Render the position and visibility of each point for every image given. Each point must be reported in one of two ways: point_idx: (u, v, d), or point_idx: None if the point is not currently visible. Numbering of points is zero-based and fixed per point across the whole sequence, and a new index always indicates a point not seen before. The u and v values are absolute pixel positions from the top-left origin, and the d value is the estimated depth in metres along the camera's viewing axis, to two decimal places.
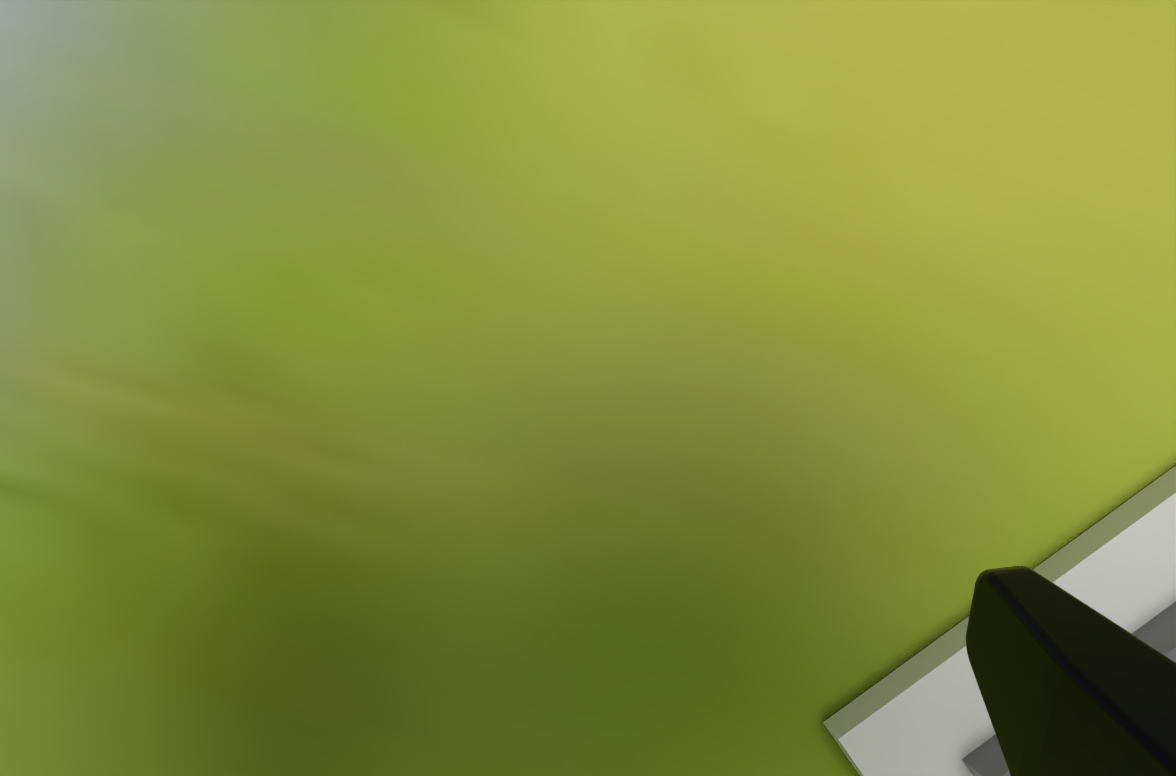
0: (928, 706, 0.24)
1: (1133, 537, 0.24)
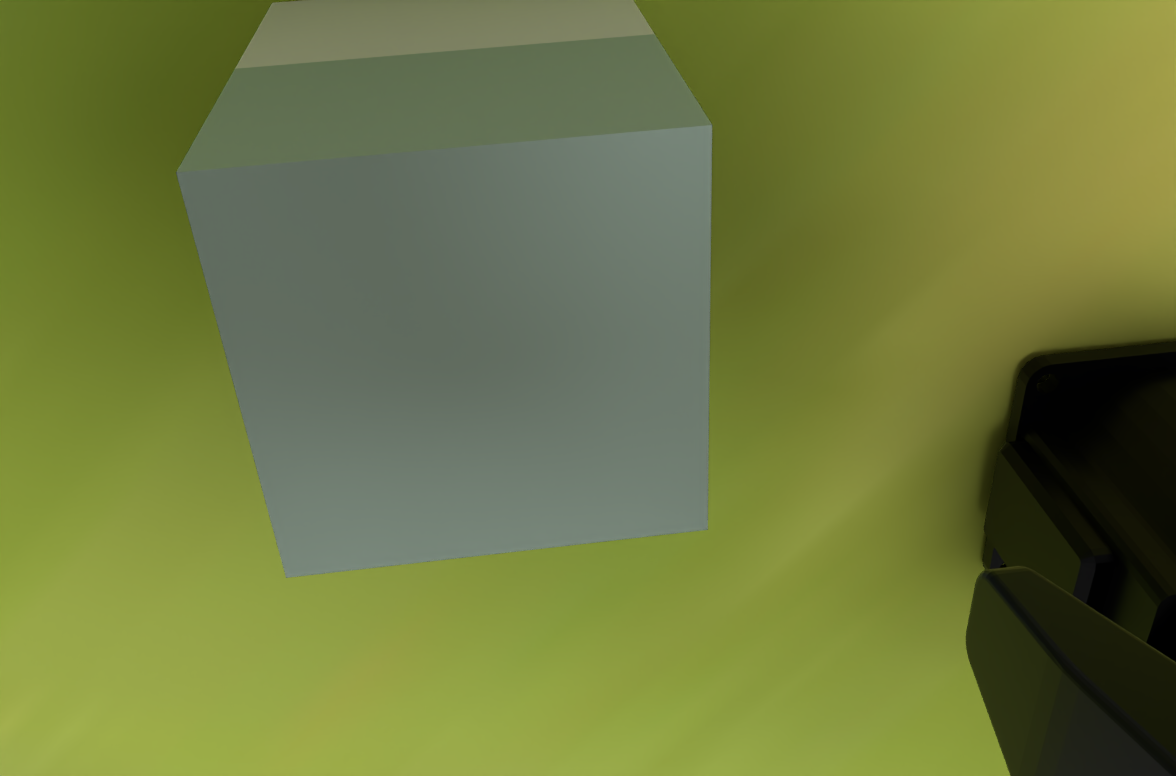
0: None
1: None
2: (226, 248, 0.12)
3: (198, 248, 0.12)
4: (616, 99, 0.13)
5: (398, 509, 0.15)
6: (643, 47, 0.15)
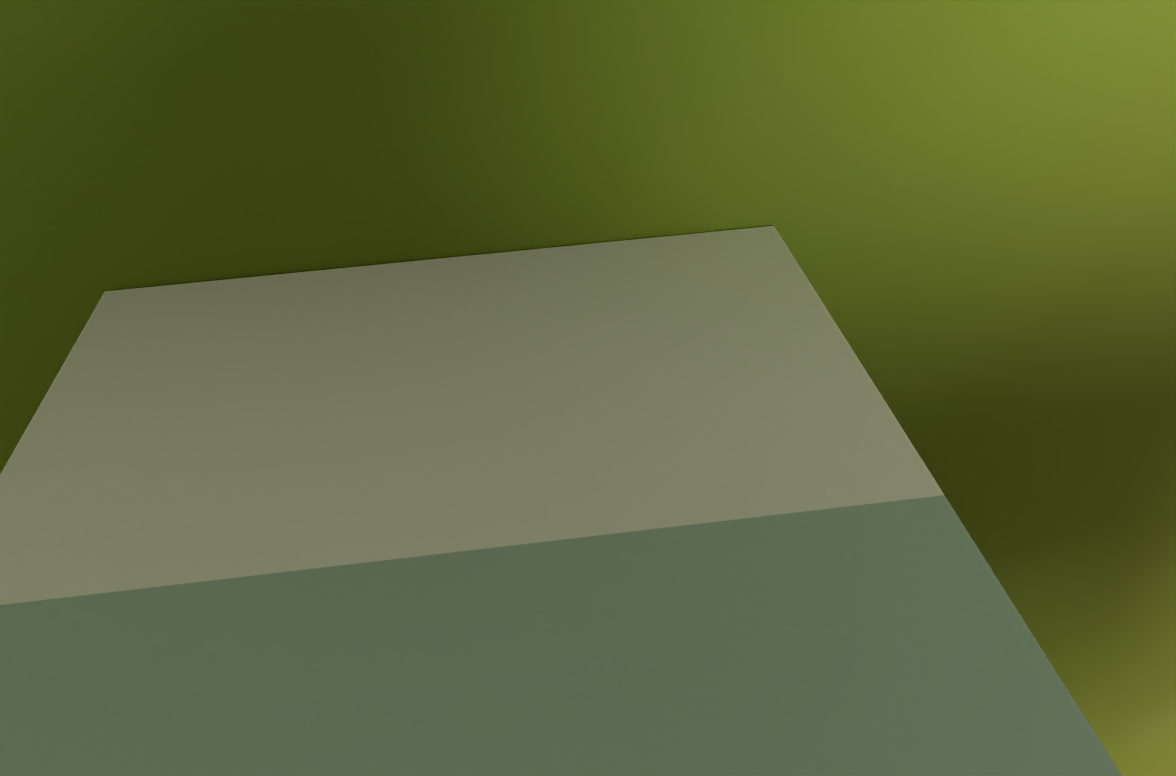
0: None
1: None
2: None
3: None
4: None
5: None
6: (943, 572, 0.06)
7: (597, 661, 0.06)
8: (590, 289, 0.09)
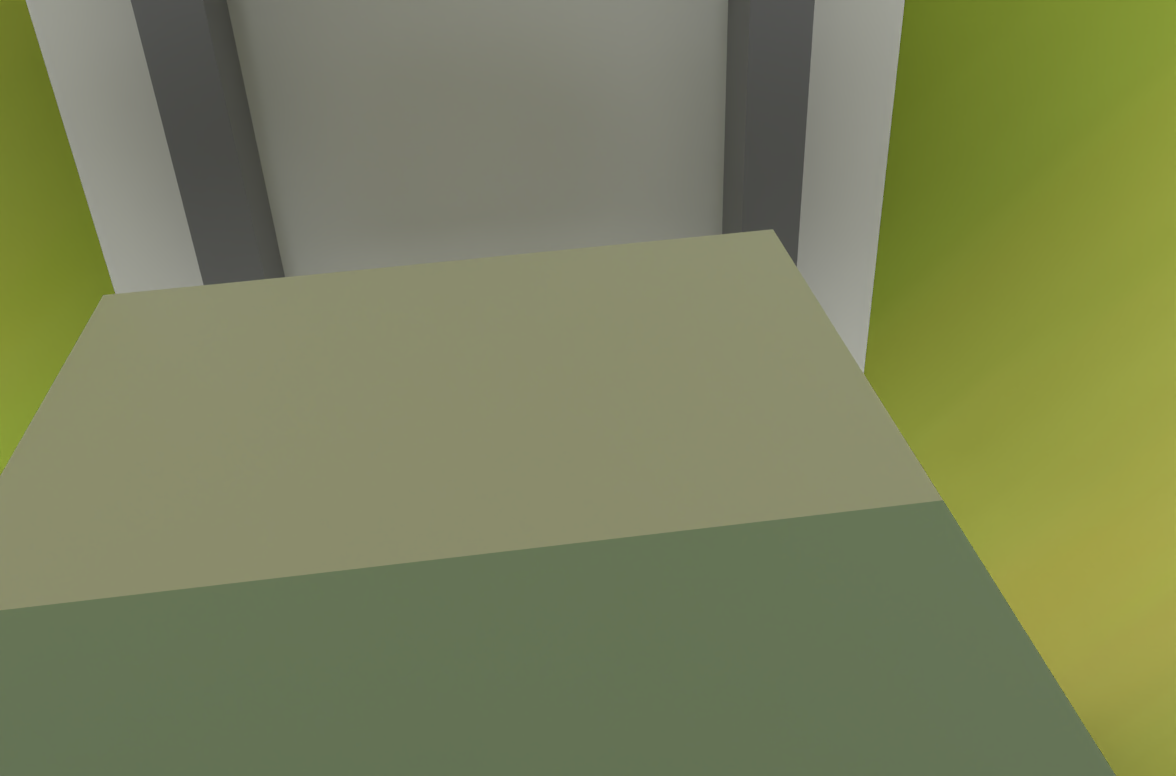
0: None
1: (71, 95, 0.17)
2: None
3: None
4: None
5: None
6: (941, 578, 0.06)
7: (595, 667, 0.06)
8: (590, 293, 0.09)
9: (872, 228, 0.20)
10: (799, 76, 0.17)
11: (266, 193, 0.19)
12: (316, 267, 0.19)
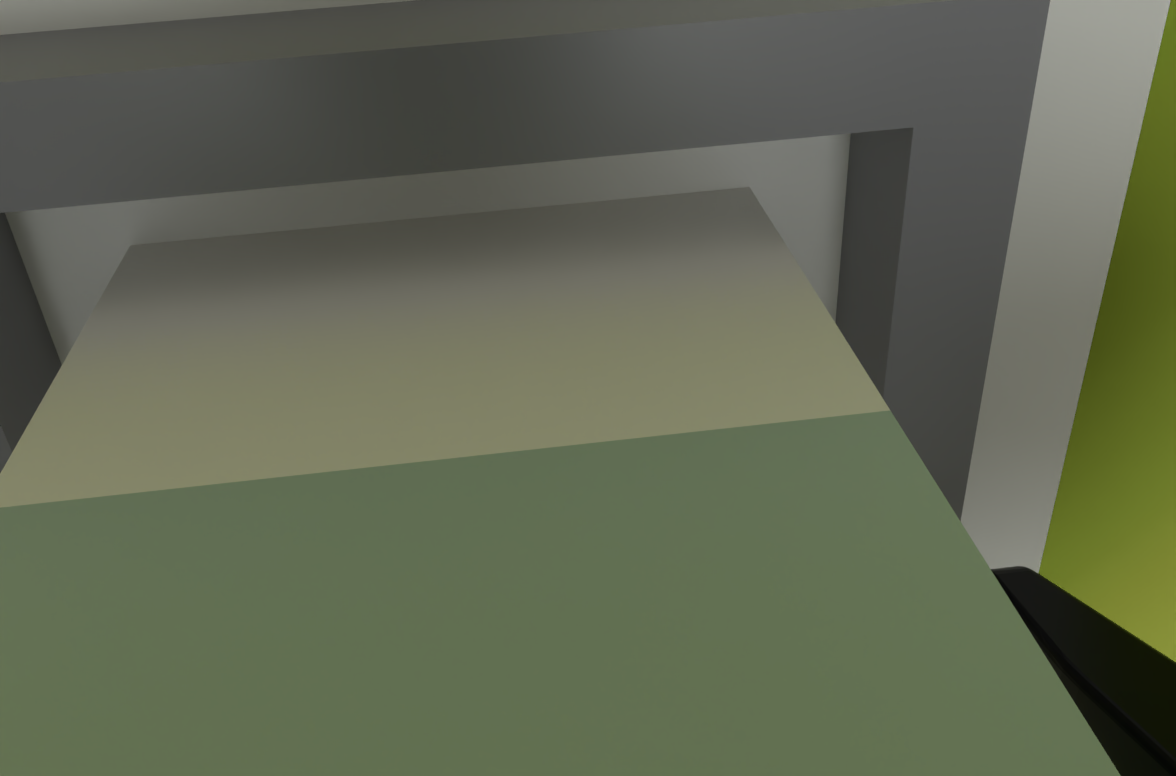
0: None
1: None
2: None
3: None
4: (905, 775, 0.05)
5: None
6: (885, 471, 0.07)
7: (578, 543, 0.06)
8: (579, 242, 0.10)
9: (1032, 556, 0.14)
10: (962, 421, 0.11)
11: None
12: None
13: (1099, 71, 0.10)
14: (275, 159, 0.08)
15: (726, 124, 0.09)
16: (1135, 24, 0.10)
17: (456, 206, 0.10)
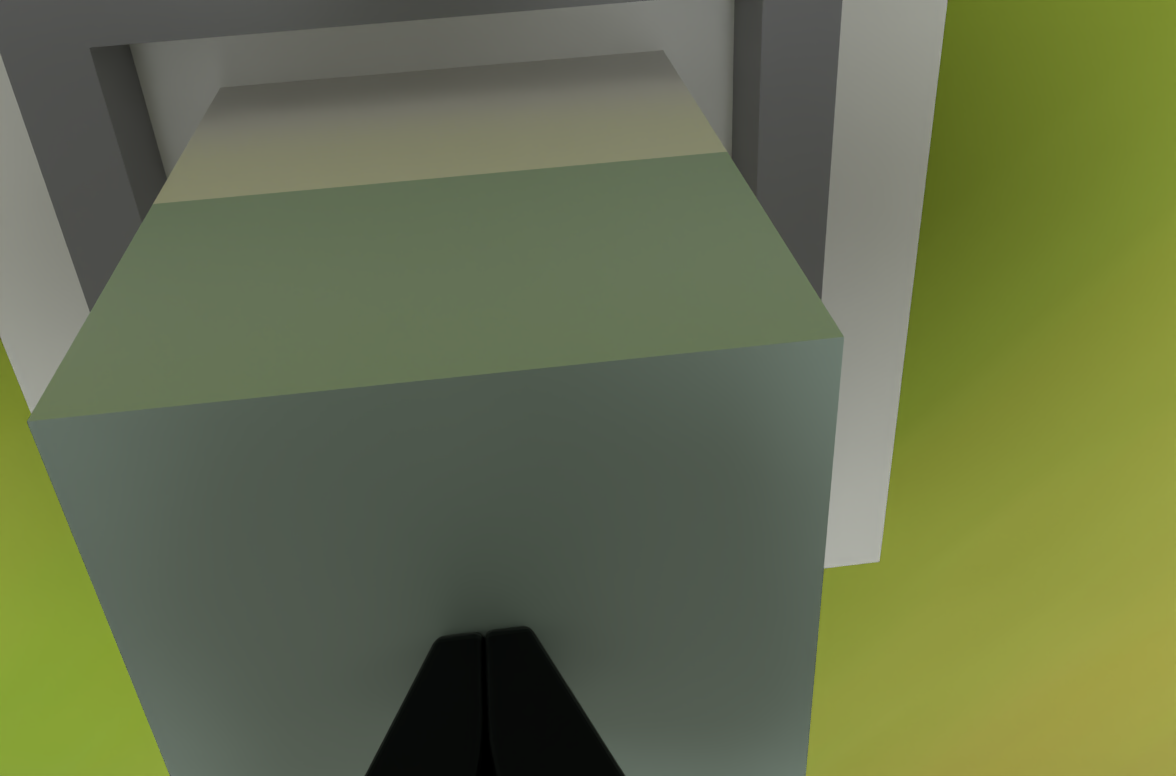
0: None
1: None
2: (112, 520, 0.08)
3: (72, 518, 0.08)
4: (691, 279, 0.09)
5: None
6: (715, 176, 0.11)
7: (523, 208, 0.11)
8: (538, 80, 0.14)
9: (896, 359, 0.18)
10: (815, 218, 0.15)
11: None
12: None
13: None
14: (330, 7, 0.13)
15: None
16: None
17: (452, 62, 0.15)
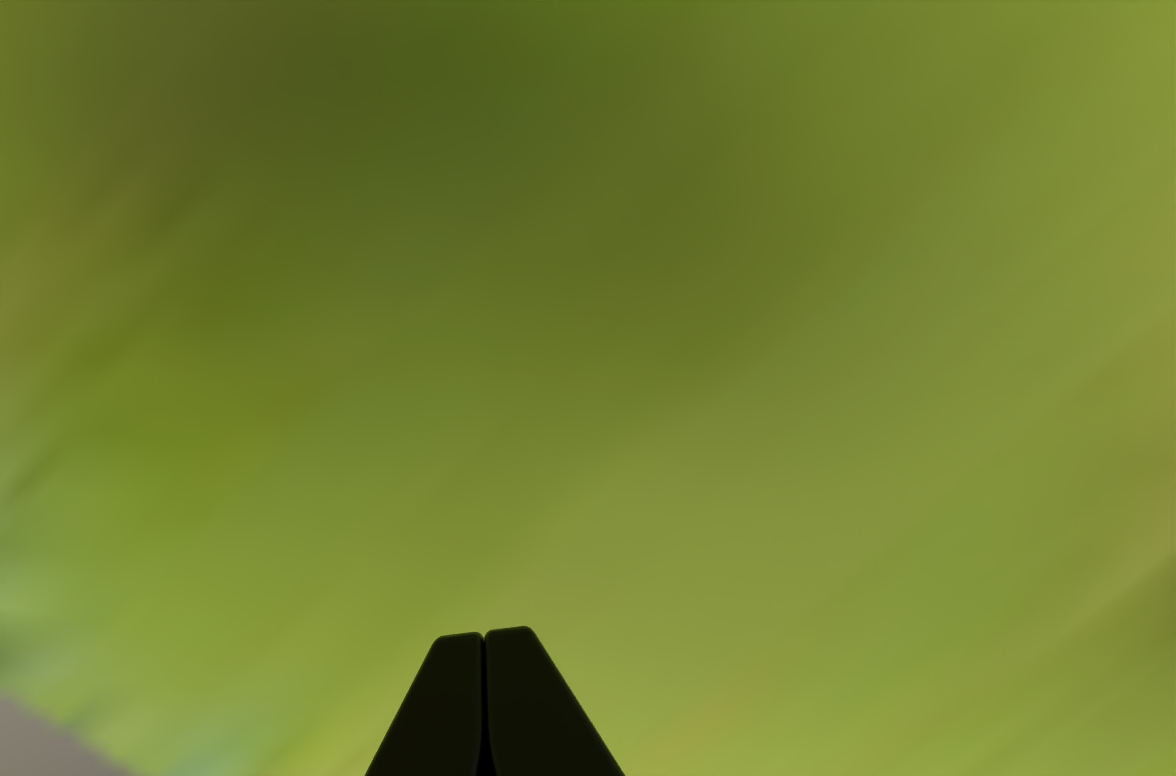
0: None
1: None
2: None
3: None
4: None
5: None
6: None
7: None
8: None
9: None
10: None
11: None
12: None
13: None
14: None
15: None
16: None
17: None
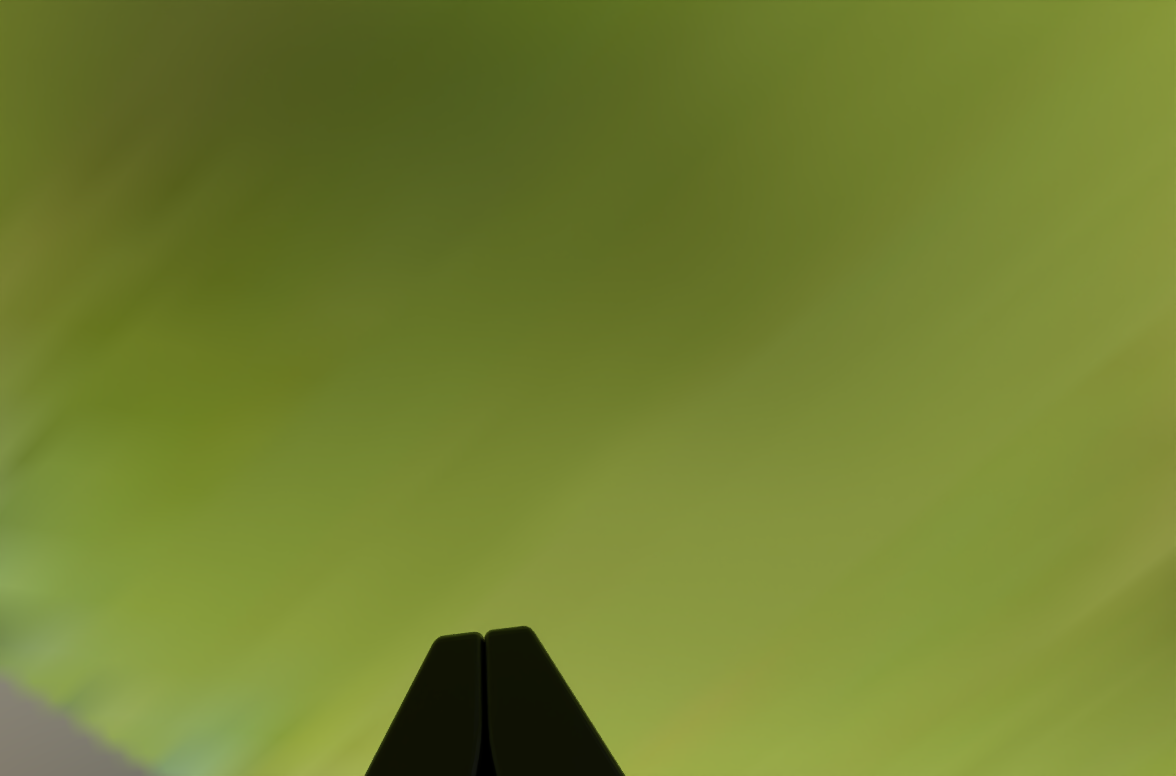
0: None
1: None
2: None
3: None
4: None
5: None
6: None
7: None
8: None
9: None
10: None
11: None
12: None
13: None
14: None
15: None
16: None
17: None
